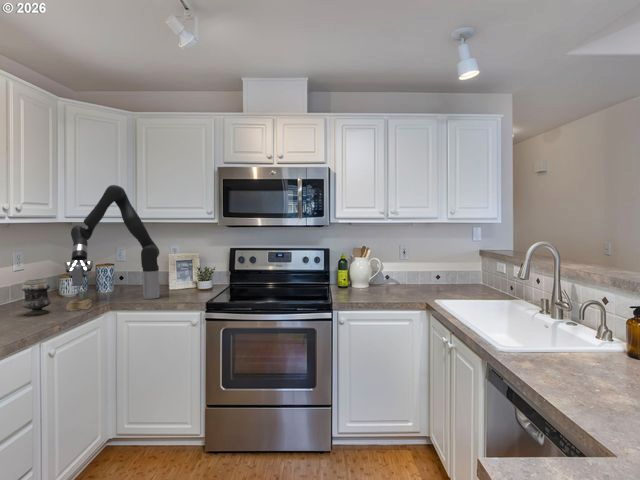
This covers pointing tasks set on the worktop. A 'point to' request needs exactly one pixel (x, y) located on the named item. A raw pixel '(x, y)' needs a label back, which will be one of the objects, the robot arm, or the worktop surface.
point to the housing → (78, 276)
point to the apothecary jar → (36, 296)
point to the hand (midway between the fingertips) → (78, 276)
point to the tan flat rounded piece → (79, 304)
